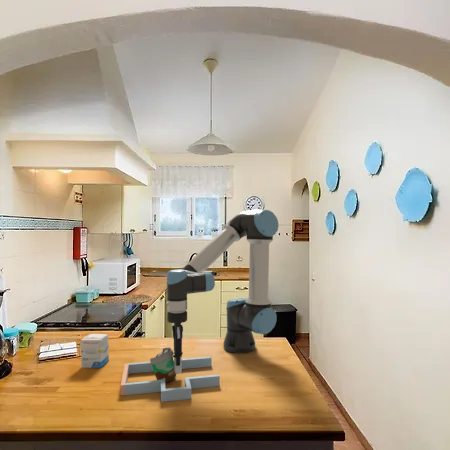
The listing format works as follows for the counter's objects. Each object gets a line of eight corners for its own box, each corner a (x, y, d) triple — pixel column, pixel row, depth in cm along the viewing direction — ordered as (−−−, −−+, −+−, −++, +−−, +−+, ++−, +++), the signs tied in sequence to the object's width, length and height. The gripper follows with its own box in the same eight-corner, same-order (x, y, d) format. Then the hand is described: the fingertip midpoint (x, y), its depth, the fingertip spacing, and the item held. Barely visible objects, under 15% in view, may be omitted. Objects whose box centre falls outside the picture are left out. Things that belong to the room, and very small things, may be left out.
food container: (171, 383, 129) (164, 355, 130) (156, 386, 131) (149, 359, 131) (183, 369, 141) (177, 344, 142) (169, 372, 143) (163, 347, 143)
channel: (211, 364, 150) (210, 356, 150) (223, 395, 123) (223, 385, 123) (125, 372, 143) (125, 363, 143) (118, 406, 117) (118, 395, 117)
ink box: (109, 360, 157) (109, 333, 157) (100, 368, 148) (100, 339, 148) (90, 360, 157) (90, 333, 157) (80, 367, 149) (80, 339, 149)
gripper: (166, 307, 143) (167, 367, 143) (168, 315, 130) (168, 381, 130) (185, 306, 145) (186, 365, 145) (188, 314, 132) (189, 379, 132)
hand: (177, 372), depth 138 cm, fingers closed
